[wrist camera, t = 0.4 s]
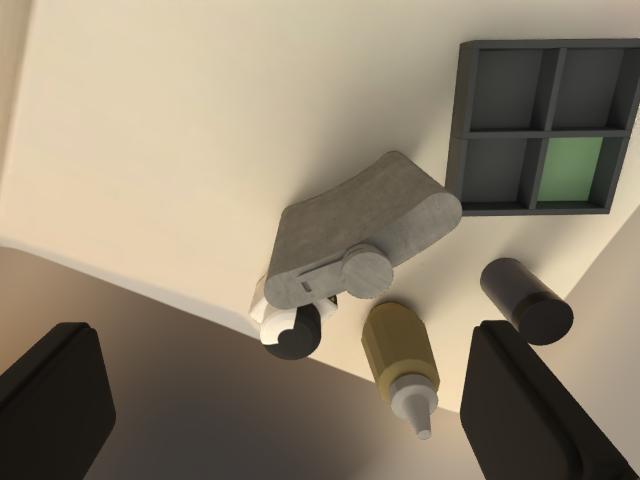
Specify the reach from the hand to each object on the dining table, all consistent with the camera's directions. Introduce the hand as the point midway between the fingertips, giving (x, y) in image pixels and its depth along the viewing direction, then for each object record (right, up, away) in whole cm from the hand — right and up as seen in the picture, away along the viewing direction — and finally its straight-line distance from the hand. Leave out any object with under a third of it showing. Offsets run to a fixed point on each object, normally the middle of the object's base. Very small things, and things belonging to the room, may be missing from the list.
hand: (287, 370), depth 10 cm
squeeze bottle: (+10, -7, +42) cm, 44 cm away
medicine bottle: (-2, -2, +40) cm, 40 cm away
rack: (+24, +15, +33) cm, 43 cm away
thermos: (+24, -2, +40) cm, 46 cm away
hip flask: (+4, +8, +36) cm, 37 cm away
